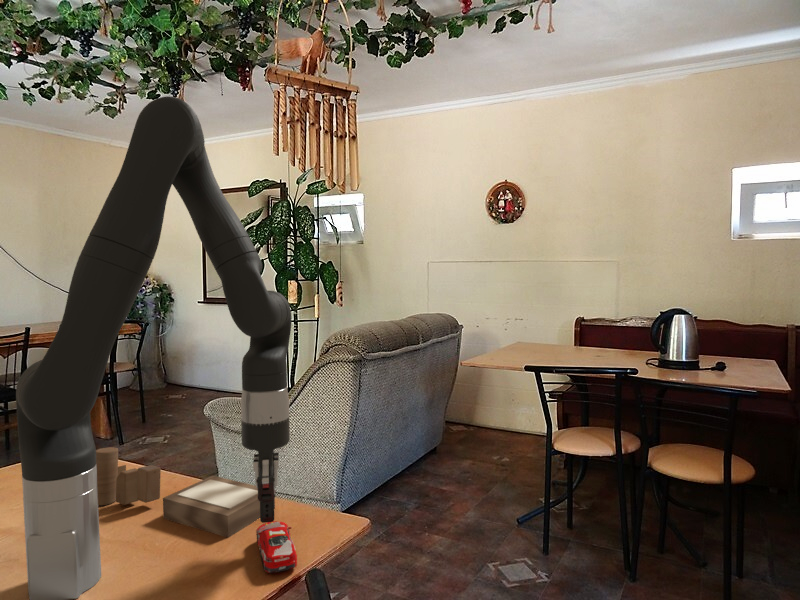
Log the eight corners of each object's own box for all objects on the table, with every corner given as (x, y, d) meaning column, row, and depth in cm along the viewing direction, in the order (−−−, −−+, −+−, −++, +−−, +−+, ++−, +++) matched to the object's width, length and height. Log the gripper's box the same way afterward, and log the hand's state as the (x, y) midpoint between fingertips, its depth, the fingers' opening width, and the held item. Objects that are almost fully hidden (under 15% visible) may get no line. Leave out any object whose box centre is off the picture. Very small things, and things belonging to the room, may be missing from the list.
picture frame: (275, 510, 105) (274, 488, 105) (228, 538, 95) (227, 514, 94) (213, 494, 113) (212, 474, 112) (163, 519, 102) (162, 496, 102)
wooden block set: (168, 504, 108) (170, 451, 108) (126, 518, 101) (127, 461, 101) (117, 486, 118) (119, 438, 118) (75, 497, 111) (77, 446, 111)
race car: (254, 536, 94) (254, 513, 94) (287, 530, 96) (286, 508, 95) (262, 580, 82) (261, 554, 81) (299, 572, 83) (299, 547, 83)
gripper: (289, 425, 83) (291, 537, 85) (288, 404, 96) (290, 501, 97) (238, 428, 82) (240, 542, 83) (243, 406, 95) (246, 505, 96)
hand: (267, 520), depth 90 cm, fingers closed
